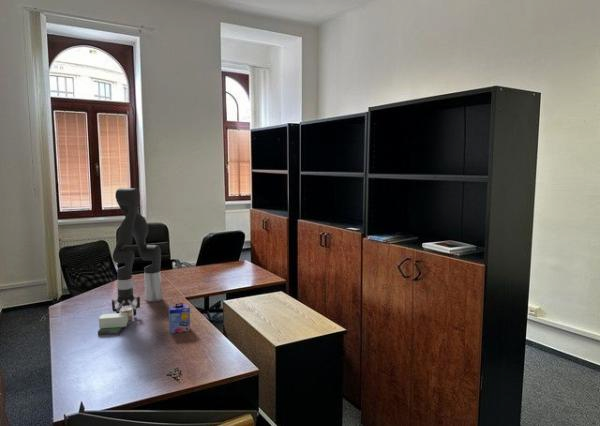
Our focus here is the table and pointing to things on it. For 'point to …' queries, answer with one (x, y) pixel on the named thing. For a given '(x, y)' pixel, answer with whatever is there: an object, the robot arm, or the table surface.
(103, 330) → the disk drive
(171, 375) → the table surface
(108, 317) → the sage plank
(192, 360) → the table surface
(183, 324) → the ink cartridge box
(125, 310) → the maple block
